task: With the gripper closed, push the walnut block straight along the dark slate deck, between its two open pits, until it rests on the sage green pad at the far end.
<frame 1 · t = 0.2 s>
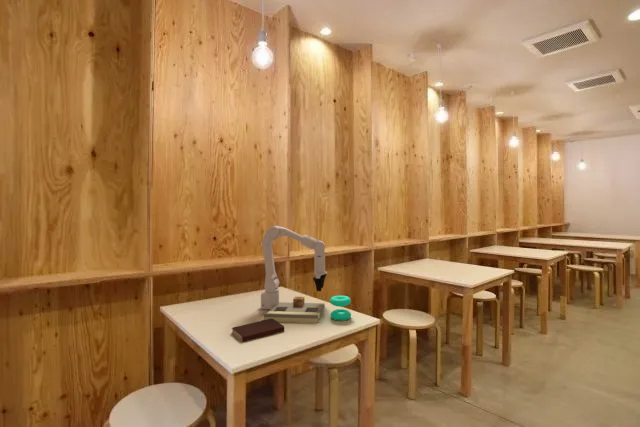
hand: (320, 289, 178), 10 cm above the table, tool pointing down, fingers open, 7 cm apart
book: (258, 334, 145), on the table
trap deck: (295, 313, 170), on the table
donuts: (340, 318, 162), on the table
block: (298, 305, 177), point 2 cm above the table, touching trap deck
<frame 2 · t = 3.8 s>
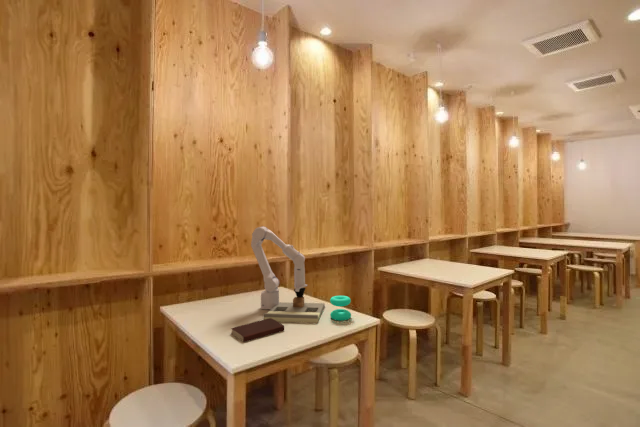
hand: (300, 301, 180), 3 cm above the table, tool pointing down, fingers closed
block: (298, 305, 176), point 2 cm above the table, touching gripper, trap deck
everything else where it was.
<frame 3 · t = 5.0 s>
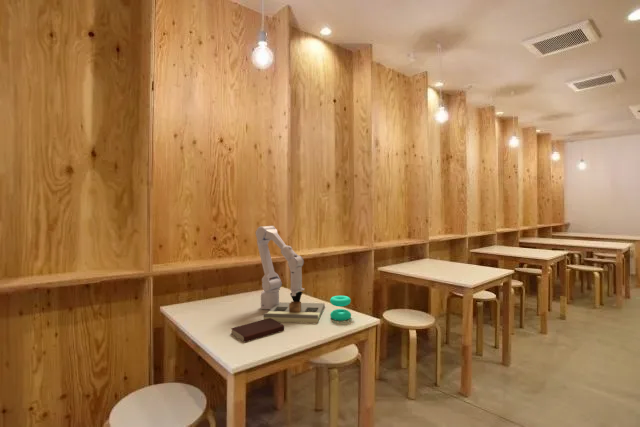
hand: (296, 306, 172), 3 cm above the table, tool pointing down, fingers closed
block: (295, 310, 168), point 2 cm above the table, touching gripper
everything else where it was.
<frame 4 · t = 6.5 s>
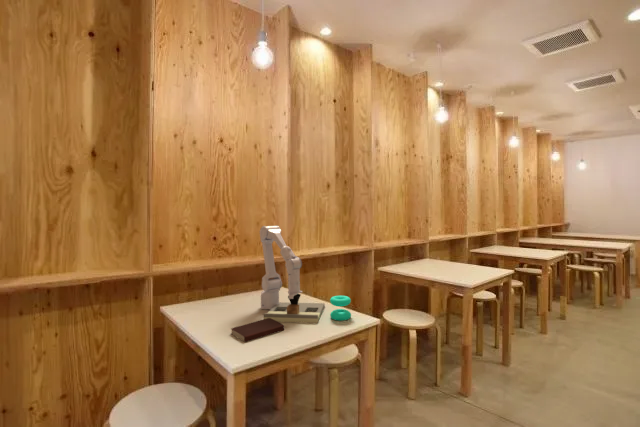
hand: (294, 309, 167), 3 cm above the table, tool pointing down, fingers closed
block: (293, 314, 163), point 2 cm above the table, touching gripper, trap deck
everything else where it was.
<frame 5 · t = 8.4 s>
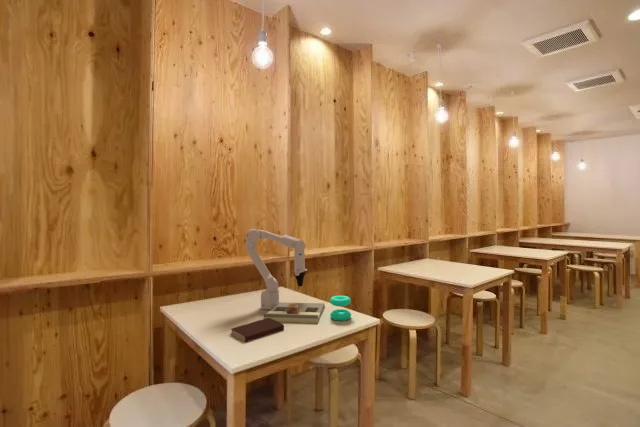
hand: (300, 286, 185), 10 cm above the table, tool pointing down, fingers closed
block: (293, 314, 163), point 2 cm above the table, touching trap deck
everything else where it was.
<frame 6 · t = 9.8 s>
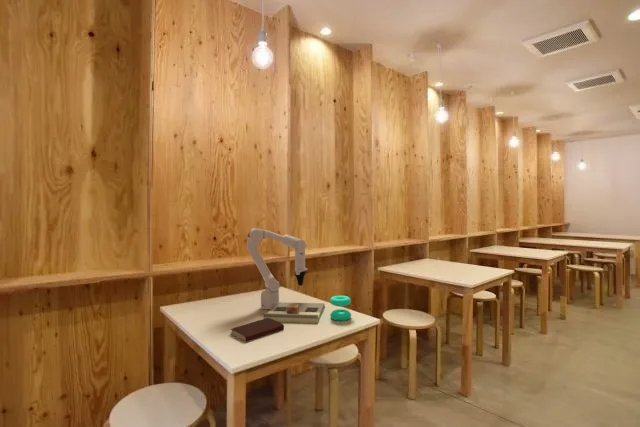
hand: (300, 285, 187), 10 cm above the table, tool pointing down, fingers closed
nothing on the table moved.
at the end: block inside the target area (0.2 cm from its centre), point 2.0 cm above the table; block tilted 0°; block moved 14.4 cm from its start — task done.
